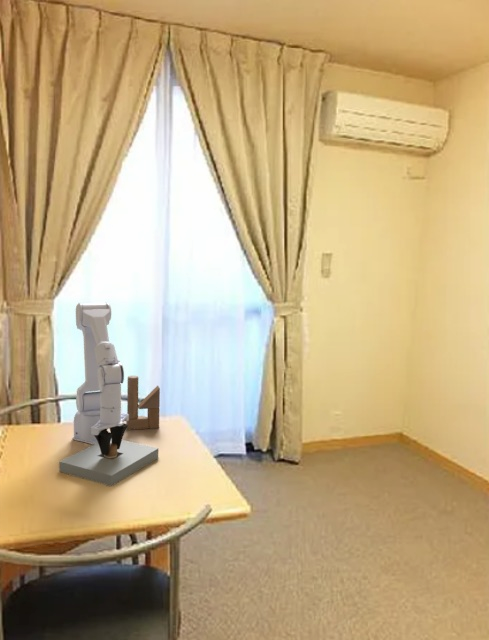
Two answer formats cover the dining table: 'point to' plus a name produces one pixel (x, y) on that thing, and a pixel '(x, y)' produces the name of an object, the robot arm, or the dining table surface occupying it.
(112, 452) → the peg
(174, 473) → the dining table surface
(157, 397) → the wooden block
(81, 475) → the board
